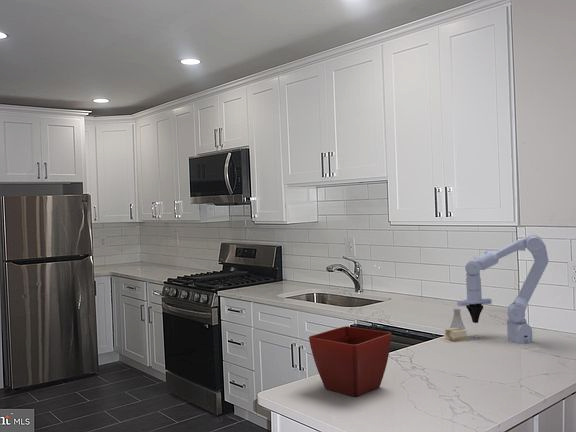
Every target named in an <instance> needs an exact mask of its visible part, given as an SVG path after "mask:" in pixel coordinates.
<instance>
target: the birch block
mask: <svg viewBox="0 0 576 432" xmlns="http://www.w3.org/2000/svg"><path fill="white" fill-rule="evenodd" d="M444 336H445V337H444V339H445V340H448V341H449V342H452V343H457V342H456V341H459V342H466V340H467V338H466V336H467V330H466V329H461V328H450V327H449V328H445V329H444Z"/></svg>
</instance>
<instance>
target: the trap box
mask: <svg viewBox="0 0 576 432" xmlns="http://www.w3.org/2000/svg"><path fill="white" fill-rule="evenodd" d="M479 336H480V337H481V338H480V337H478V334H477V335H476V334H474V335H466V338H467V340H466V341H467V342H468V341H478V340H479V341H480V340H482V337H483V338H484V339H486V340H489V337H486V336H484V335H481V334H479ZM444 339H445V337H444V338H443V337H442V338H439V340H441V341H444V342H446V343H448V341H447V340H446V339H445V340H444ZM466 341H465V342H466ZM457 342H460V341H456V342H455V343H457Z"/></svg>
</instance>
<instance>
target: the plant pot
mask: <svg viewBox="0 0 576 432" xmlns="http://www.w3.org/2000/svg"><path fill="white" fill-rule="evenodd" d="M391 340H392V333H391V332H387V331H382V330H375V329H368V328H361V327H354V326H348V325H346V326H341V327H337V328H333V329H330V330H327V331H323V332H320V333H316V334H313V335H310V336H309V335H308V341H309V346H310V349H311V354H312V357H313V360H314V363H315V367H316V369H317V371H318V374H319V377H320V379H321V382H322V384H323V387H324V389H325V390H329V391H333V392H336V393H340V394H344V395H348V396H352V397H358V396H361V395H364V394H365V393H368V392H370V391H372V390H375V389H377V388H380V387H381V384H382V382H383V378H384V375H385V371H386V368H387V364H388V360H389V355H390V350H391V342H392V341H391Z"/></svg>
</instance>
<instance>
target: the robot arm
mask: <svg viewBox="0 0 576 432" xmlns="http://www.w3.org/2000/svg"><path fill="white" fill-rule="evenodd" d="M546 246H547V245H546V244H545V242H544V241H543V239H542V238H541V236H539V235H537V234H531V235H528V236H527V237H523V238H521V239H517V240H516V241H513V242H512V243H509V244H508V245H506V246H504V247H502V248H501V249H498V250H496V251H493V250H489V251H488V250H486V251H484V253H483V254H481V255H479V256H478V257H477V256H475V257H473V259H472V260H471V259H470V260H469V261H468V262H467V263H466V264H465V267H464V269H465V271H466V274H465V276H466V279H465V282H466V284H465V286H466V299H462V300H457V301H456V303H457V305H456V306H458V307H464V306H465V307H466V309H467V311H468V313H469V314H470V315H469V316H470V318H471V321H472V323H474V324H479V320H480V316H481V313H482V312H483V309H484V305H492V302H493V301H492V299H491V298H482V296H483V295H482V279H481V271H485V270H487V269H489V268H491V267H493V266H495V265H497V264H499V260H500V259H502V258H504V257H507V256H508V255H511V254H513V253H514V252H515V253H516V252H517V251H521V252H522V251H523V252H525V251H526V249H527V250H528V251H529V253H531V255H532V258H533V259H534V261H533V264H532V266H531V268H530V269H529V271H528V274H527V275H526V278H525V280H524V282H523V284H522V286H521V288H520V290H519V291H518V293H517V295H516V297H515V299H514V301H513V302H512V303H511V304H509V306H508V307H507V316H508V318H507V319H506V327H507V328H506V331H507V333H506V334H507V336H506V337H507V340H508V341H510V342H512V343H517V344H519V345H520V344H529V343H530V344H531V343H533V340H534V339H533V329H532V326H530V325H529V324H528V323H527V319H526V309H527V308H528V305H529V302H530V300H531V298H532V296H533V294H534V292H535V290H536V288H537V286H538V285H539V282H540V280H541V278H542V276H543V274H544V272H545V270H546V268H547V266H548V264H549V256H548V251H547V247H546Z"/></svg>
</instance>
